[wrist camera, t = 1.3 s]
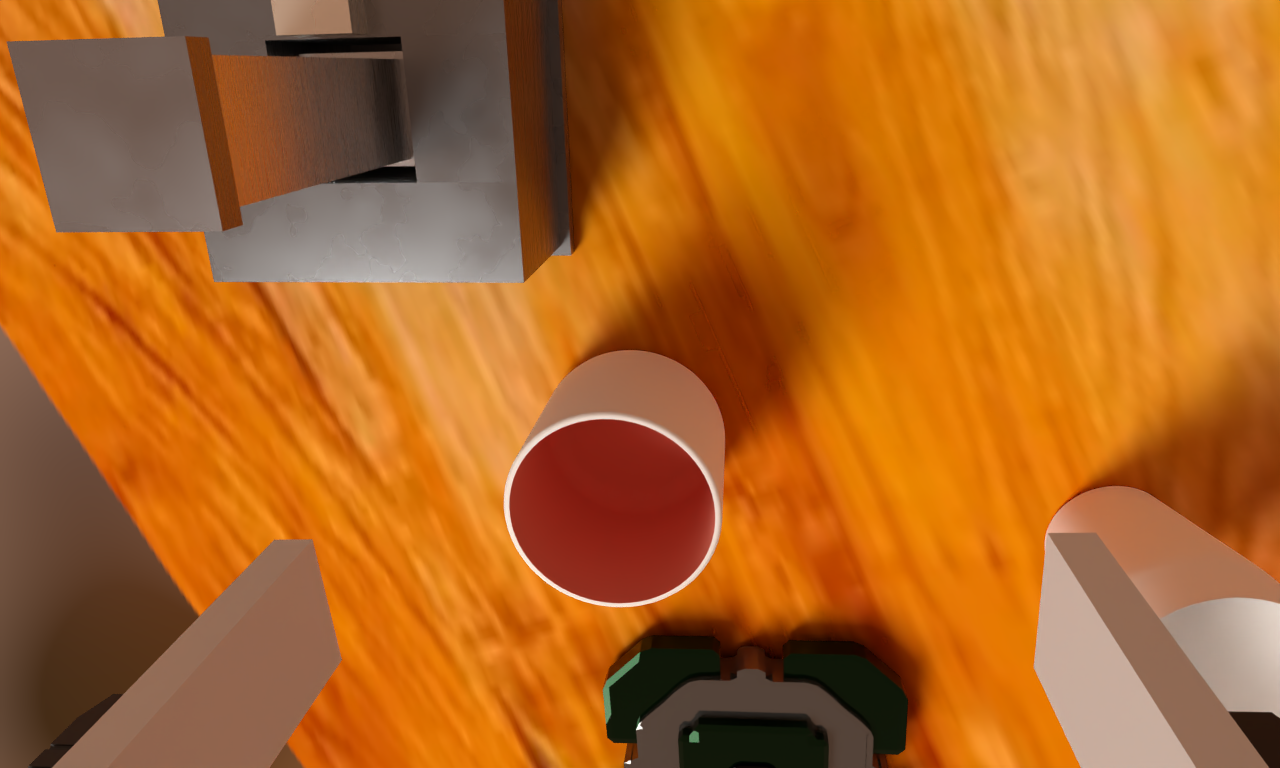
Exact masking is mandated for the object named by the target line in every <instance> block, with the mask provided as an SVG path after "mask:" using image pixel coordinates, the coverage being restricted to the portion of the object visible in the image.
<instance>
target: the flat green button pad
mask: <svg viewBox="0 0 1280 768" xmlns="http://www.w3.org/2000/svg"><path fill="white" fill-rule="evenodd" d="M603 695H604V706H605V717H606V728H607V738H609V739H610V740H611V741H613V742H614V743H627V749H626V755H625V761H624V768H888V765H887V760H886V755H885V754H895V755H898V754H900V753H901V752H903V751H904V750H905V743H906V726H907V709H908V698H907V695H906V691H905V687H904V684H903V682H902V680H901V678H900V676H899V675H897V674H896V673H895V672H894V671H893V670H892V669H890V668H889V667H888V666H887V665H886V664H885V663H883V662H882V661H881V660H880V659H879V658H878V657H876V656H875V655H874V654H873V653H872V652H871V651H869V650H868V649H867V648H866V647H865V646H864V645H861V644H858V643H855V642H853V641H802V640H789V641H788V642H787V643H785V644H784V645H783V659H771V658H769V657H767V656H765V650H764V649H762V648H760V647H758V646H743V647H741V648H739V649H737V655H736V656H733V657H731V658H721V654H720V642H719V641H718V640H717V639H716V638H715V637H710V636H656V635H653V636H650V637H647V638H644V639H642V640H641V641H639V642H638V643H637V644H636V645H635V646H634V647H633V648H631V649H630V650H629V651H628V652H627V653H626V654H625V655H623V656H622V657H621V658H620V659H619V660H618V661H617V662H615V663H614V664H613V665H612V666H611V667H610V668H609V670H608V673H607V675H606V678H605V683H604V687H603Z"/></svg>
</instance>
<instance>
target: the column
mask: <svg viewBox="0 0 1280 768" xmlns="http://www.w3.org/2000/svg"><path fill="white" fill-rule="evenodd" d="M7 44H8V48H9V52H10V56H11V60H12V63H13V67H14V71H15V75H16V79H17V83H18V87H19V90H20V94H21V98H22V102H23V106H24V110H25V113H26V117H27V121H28V125H29V129H30V133H31V136H32V140H33V144H34V148H35V152H36V156H37V159H38V163H39V167H40V171H41V175H42V179H43V182H44V186H45V190H46V194H47V198H48V202H49V205H50V209H51V213H52V217H53V221H54V225H55V229H56V232H207V231H226V230H229V229H232V228H235V227H238V226H241V225H243V222H242V216H241V211H240V207H241V206H244V205H248V204H251V203H255V202H259V201H262V200H266V199H269V198H273V197H276V196H280V195H284V194H287V193H291V192H294V191H298V190H301V189H305V188H309V187H312V186H316V185H319V184H323V183H326V182H330V181H334V180H337V179H341V178H344V177H348V176H351V175H355V174H359V173H362V172H366V171H369V170H373V169H376V168H380V167H385V166H415V160H414V151H413V142H412V133H411V124H410V115H409V106H408V97H407V88H406V79H405V70H404V61H403V53H402V51H392V52H357V53H321V54H299V57H283V56H238V55H212V54H211V48H210V43H209V37H191V36H173V37H142V38H110V39H78V40H46V41H14V42H7Z"/></svg>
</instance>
